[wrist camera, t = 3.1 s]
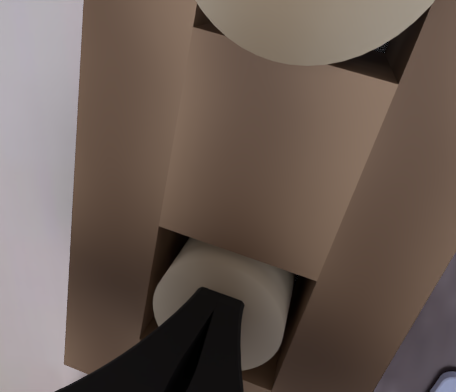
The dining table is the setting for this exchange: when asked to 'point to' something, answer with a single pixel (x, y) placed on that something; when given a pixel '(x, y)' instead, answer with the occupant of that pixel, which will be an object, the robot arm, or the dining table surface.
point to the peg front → (312, 26)
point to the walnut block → (262, 184)
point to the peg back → (231, 294)
